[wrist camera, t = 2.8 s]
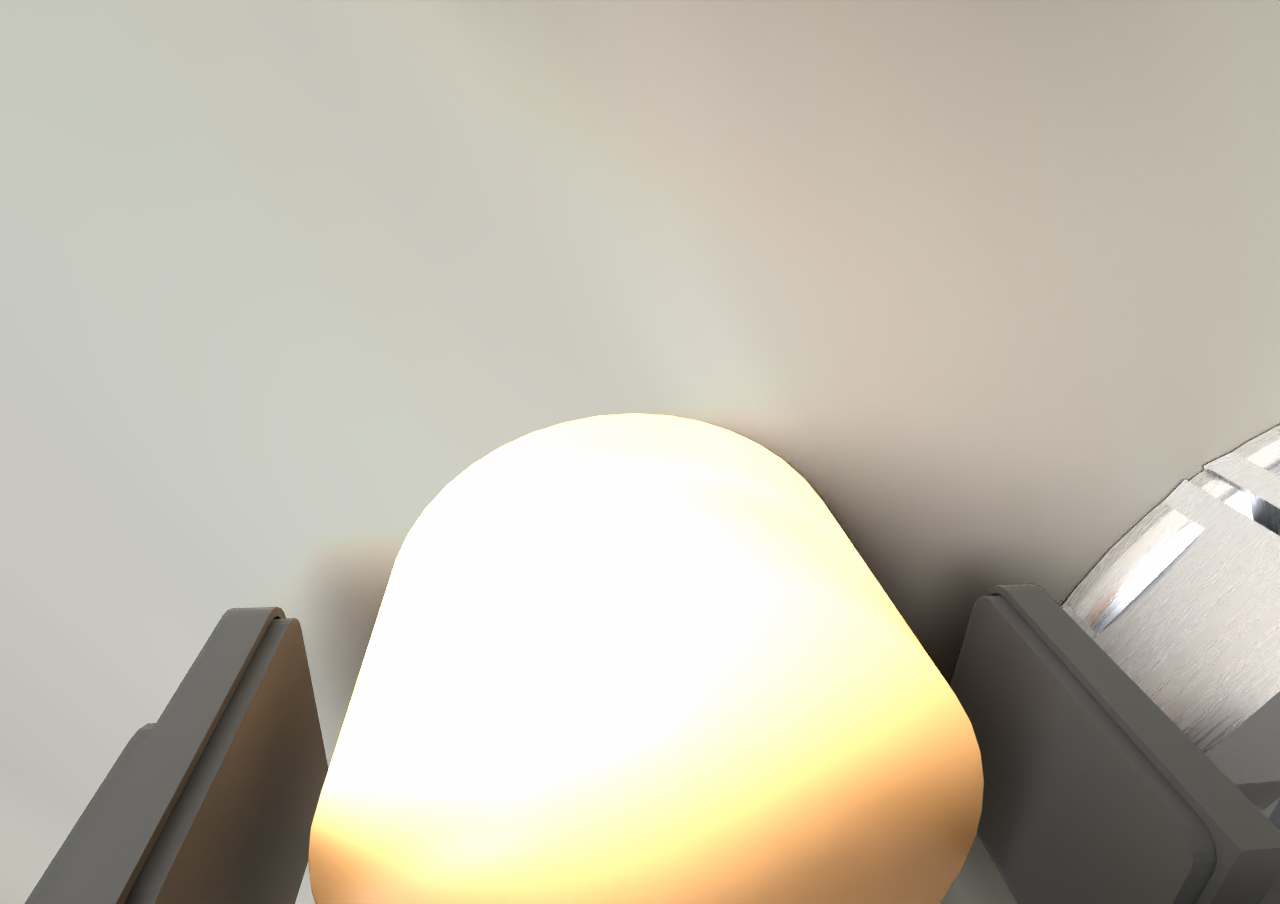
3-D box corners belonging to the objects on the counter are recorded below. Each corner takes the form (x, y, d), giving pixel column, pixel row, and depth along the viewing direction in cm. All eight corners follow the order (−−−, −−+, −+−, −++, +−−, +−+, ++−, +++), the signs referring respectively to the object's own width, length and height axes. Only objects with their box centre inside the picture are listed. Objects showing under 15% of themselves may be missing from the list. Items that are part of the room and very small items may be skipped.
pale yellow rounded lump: (813, 774, 13) (912, 1022, 10) (408, 800, 13) (354, 1084, 9) (884, 409, 10) (1063, 574, 7) (359, 411, 10) (247, 603, 6)
